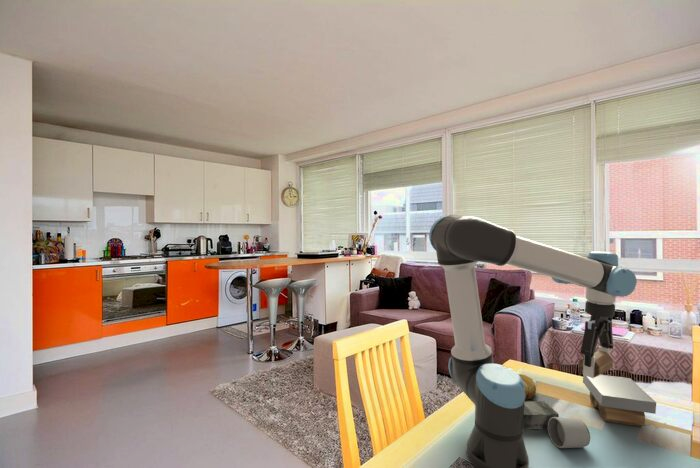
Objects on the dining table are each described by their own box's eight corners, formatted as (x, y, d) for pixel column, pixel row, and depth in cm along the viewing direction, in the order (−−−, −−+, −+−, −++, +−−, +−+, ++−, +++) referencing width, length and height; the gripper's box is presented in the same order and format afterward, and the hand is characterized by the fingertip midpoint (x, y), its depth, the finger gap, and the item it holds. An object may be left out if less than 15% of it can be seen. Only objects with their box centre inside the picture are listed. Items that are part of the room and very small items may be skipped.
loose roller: (578, 373, 111) (579, 355, 111) (592, 365, 117) (593, 348, 116) (599, 380, 106) (600, 362, 106) (612, 371, 112) (613, 354, 112)
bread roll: (527, 387, 133) (528, 366, 133) (546, 401, 124) (547, 378, 123) (496, 390, 131) (497, 369, 130) (512, 404, 121) (514, 381, 121)
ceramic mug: (592, 453, 97) (593, 425, 97) (564, 454, 96) (565, 427, 96) (565, 429, 108) (566, 405, 107) (539, 431, 107) (540, 406, 107)
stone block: (498, 413, 116) (499, 398, 116) (542, 414, 116) (543, 398, 116) (511, 430, 107) (511, 413, 107) (558, 431, 107) (559, 414, 107)
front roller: (644, 429, 108) (645, 410, 108) (606, 424, 111) (607, 405, 110) (634, 418, 114) (635, 400, 113) (598, 413, 117) (599, 395, 116)
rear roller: (631, 415, 116) (632, 397, 115) (596, 410, 118) (597, 392, 118) (622, 405, 122) (623, 388, 121) (589, 400, 124) (590, 384, 124)
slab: (601, 406, 110) (602, 395, 110) (582, 382, 125) (583, 372, 125) (655, 413, 106) (656, 402, 106) (629, 388, 122) (630, 378, 121)
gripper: (598, 310, 100) (593, 386, 102) (628, 299, 113) (623, 367, 115) (570, 304, 107) (565, 376, 108) (601, 294, 119) (597, 359, 121)
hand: (595, 371), depth 111 cm, fingers closed on loose roller, 10 cm apart
